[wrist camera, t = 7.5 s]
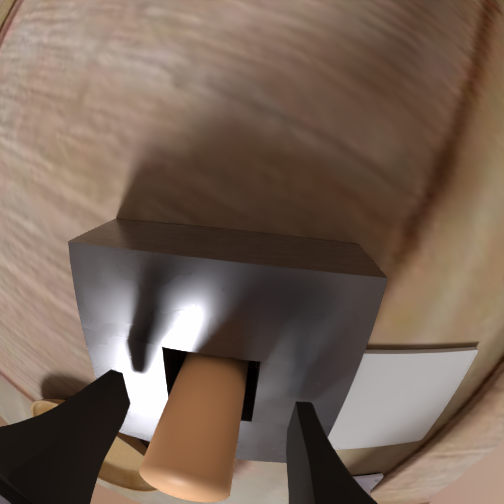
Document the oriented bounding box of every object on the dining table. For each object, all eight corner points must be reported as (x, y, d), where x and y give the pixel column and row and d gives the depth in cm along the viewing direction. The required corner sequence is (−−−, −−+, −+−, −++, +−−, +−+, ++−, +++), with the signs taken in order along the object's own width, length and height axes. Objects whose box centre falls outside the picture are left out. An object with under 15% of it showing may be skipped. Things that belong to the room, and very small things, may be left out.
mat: (420, 436, 18) (421, 440, 17) (311, 445, 18) (311, 449, 18) (475, 346, 14) (478, 349, 14) (349, 349, 15) (351, 353, 15)
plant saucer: (69, 448, 24) (61, 461, 21) (23, 363, 19) (9, 379, 17) (178, 486, 23) (173, 503, 21) (160, 413, 18) (149, 438, 16)
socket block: (310, 415, 17) (314, 463, 13) (136, 390, 17) (115, 430, 14) (358, 244, 13) (387, 278, 9) (115, 218, 14) (68, 241, 10)
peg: (250, 360, 16) (230, 506, 7) (198, 355, 16) (150, 491, 7) (252, 316, 15) (229, 475, 6) (195, 311, 15) (128, 454, 6)
